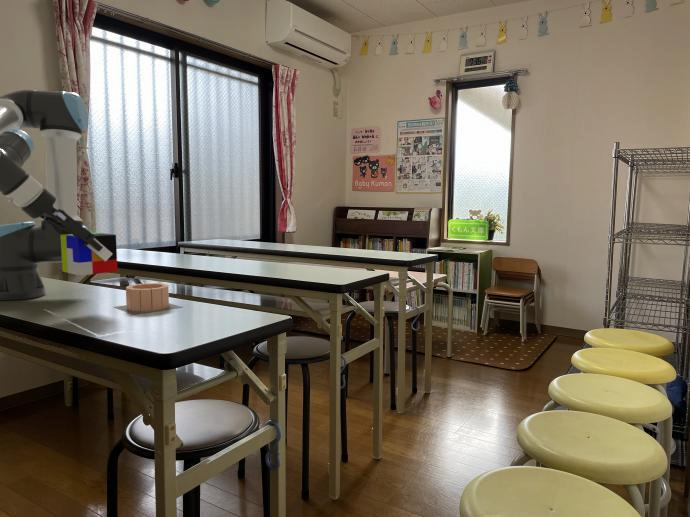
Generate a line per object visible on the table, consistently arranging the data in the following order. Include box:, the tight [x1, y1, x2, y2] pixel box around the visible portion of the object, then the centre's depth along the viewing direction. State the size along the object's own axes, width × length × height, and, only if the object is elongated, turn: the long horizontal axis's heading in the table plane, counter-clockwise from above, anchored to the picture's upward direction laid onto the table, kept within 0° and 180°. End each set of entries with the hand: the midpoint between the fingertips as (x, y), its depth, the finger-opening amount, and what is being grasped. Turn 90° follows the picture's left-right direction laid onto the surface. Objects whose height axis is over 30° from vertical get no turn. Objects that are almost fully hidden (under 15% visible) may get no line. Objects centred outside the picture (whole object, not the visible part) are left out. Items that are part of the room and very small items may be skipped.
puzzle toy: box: [61, 232, 118, 276], centre depth 136 cm, size 10×10×10 cm
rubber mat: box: [113, 302, 184, 316], centre depth 143 cm, size 14×14×1 cm
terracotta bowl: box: [125, 282, 170, 312], centre depth 143 cm, size 11×11×6 cm
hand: (100, 255), depth 138 cm, fingers closed on puzzle toy, 10 cm apart
